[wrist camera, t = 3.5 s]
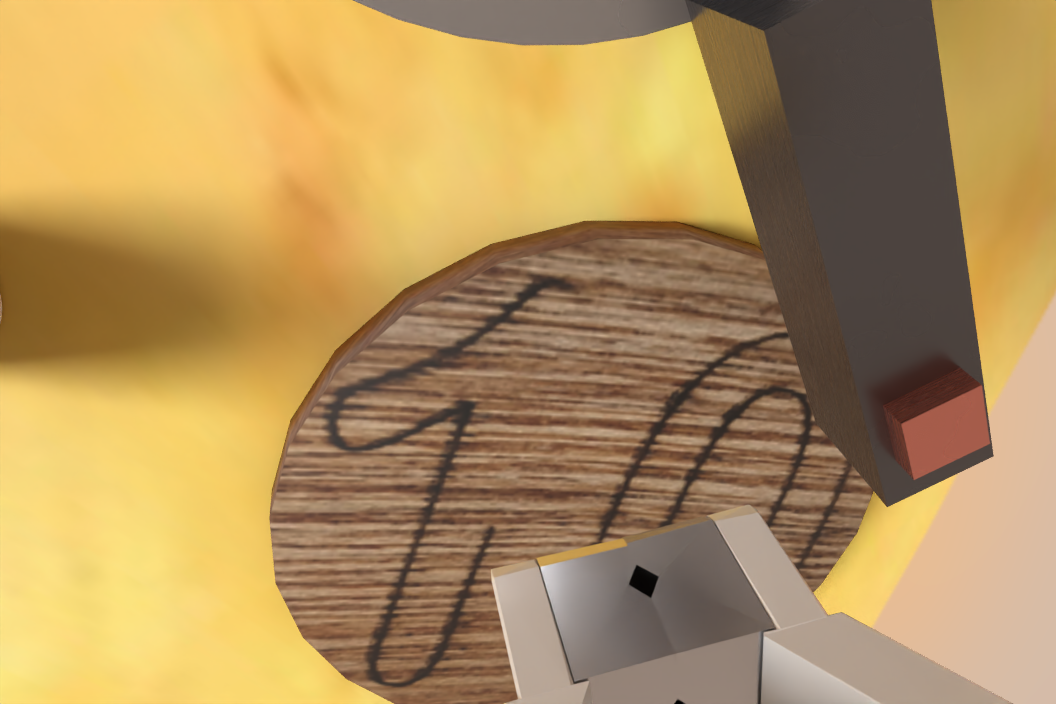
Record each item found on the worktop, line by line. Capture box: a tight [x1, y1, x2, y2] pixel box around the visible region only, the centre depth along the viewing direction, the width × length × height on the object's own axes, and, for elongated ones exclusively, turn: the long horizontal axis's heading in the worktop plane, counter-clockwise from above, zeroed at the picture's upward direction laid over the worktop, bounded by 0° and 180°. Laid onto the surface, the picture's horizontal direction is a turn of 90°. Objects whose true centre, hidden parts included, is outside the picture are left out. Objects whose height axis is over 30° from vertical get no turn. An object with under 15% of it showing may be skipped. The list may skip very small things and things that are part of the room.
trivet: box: [270, 221, 873, 704], centre depth 33 cm, size 25×25×2 cm
